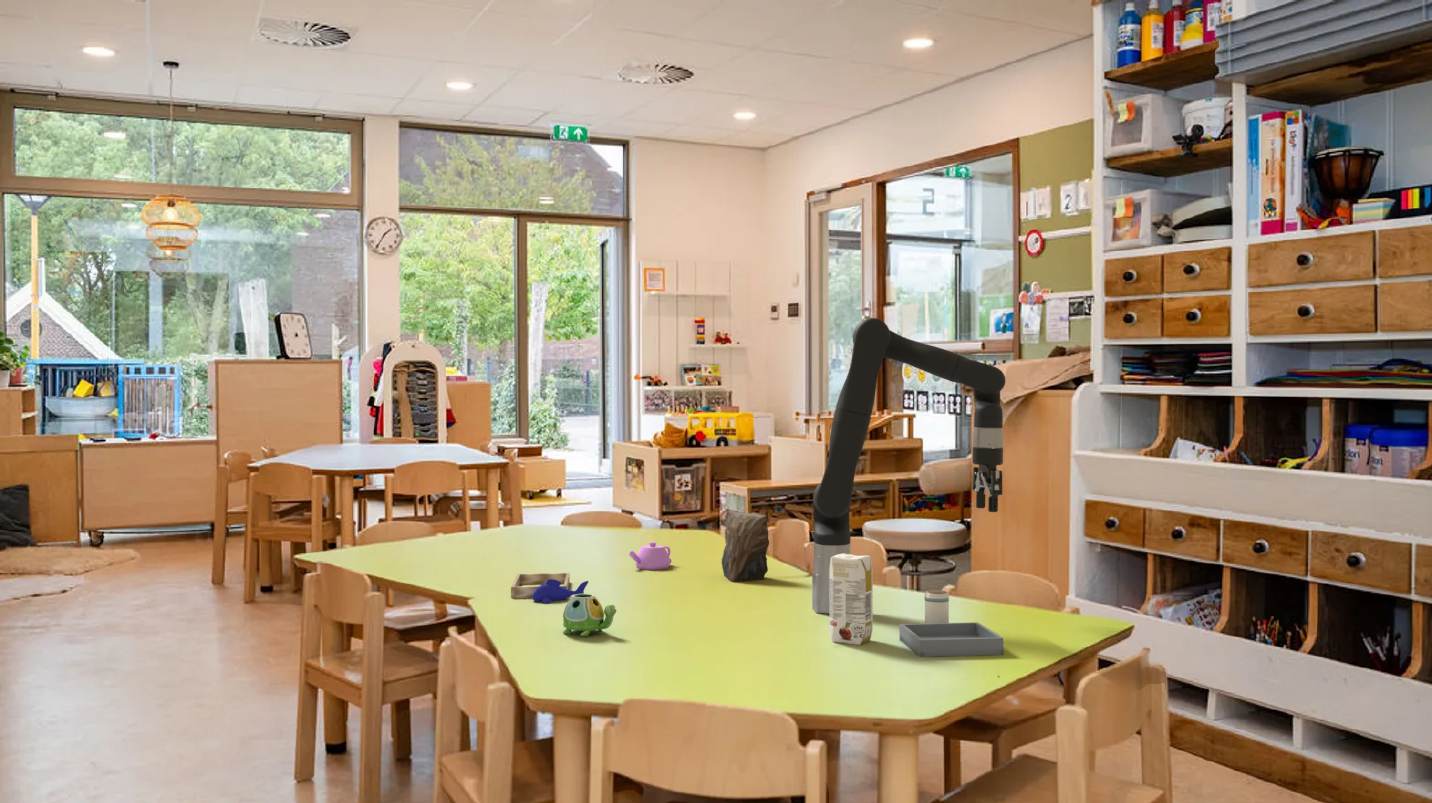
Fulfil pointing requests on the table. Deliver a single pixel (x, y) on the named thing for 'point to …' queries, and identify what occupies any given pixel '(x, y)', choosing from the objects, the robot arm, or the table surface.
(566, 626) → the turtle holder
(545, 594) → the fish toy
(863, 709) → the table surface
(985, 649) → the tray
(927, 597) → the cup
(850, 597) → the juice carton
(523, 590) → the toy crate
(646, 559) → the teapot
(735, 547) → the bark-textured rock
